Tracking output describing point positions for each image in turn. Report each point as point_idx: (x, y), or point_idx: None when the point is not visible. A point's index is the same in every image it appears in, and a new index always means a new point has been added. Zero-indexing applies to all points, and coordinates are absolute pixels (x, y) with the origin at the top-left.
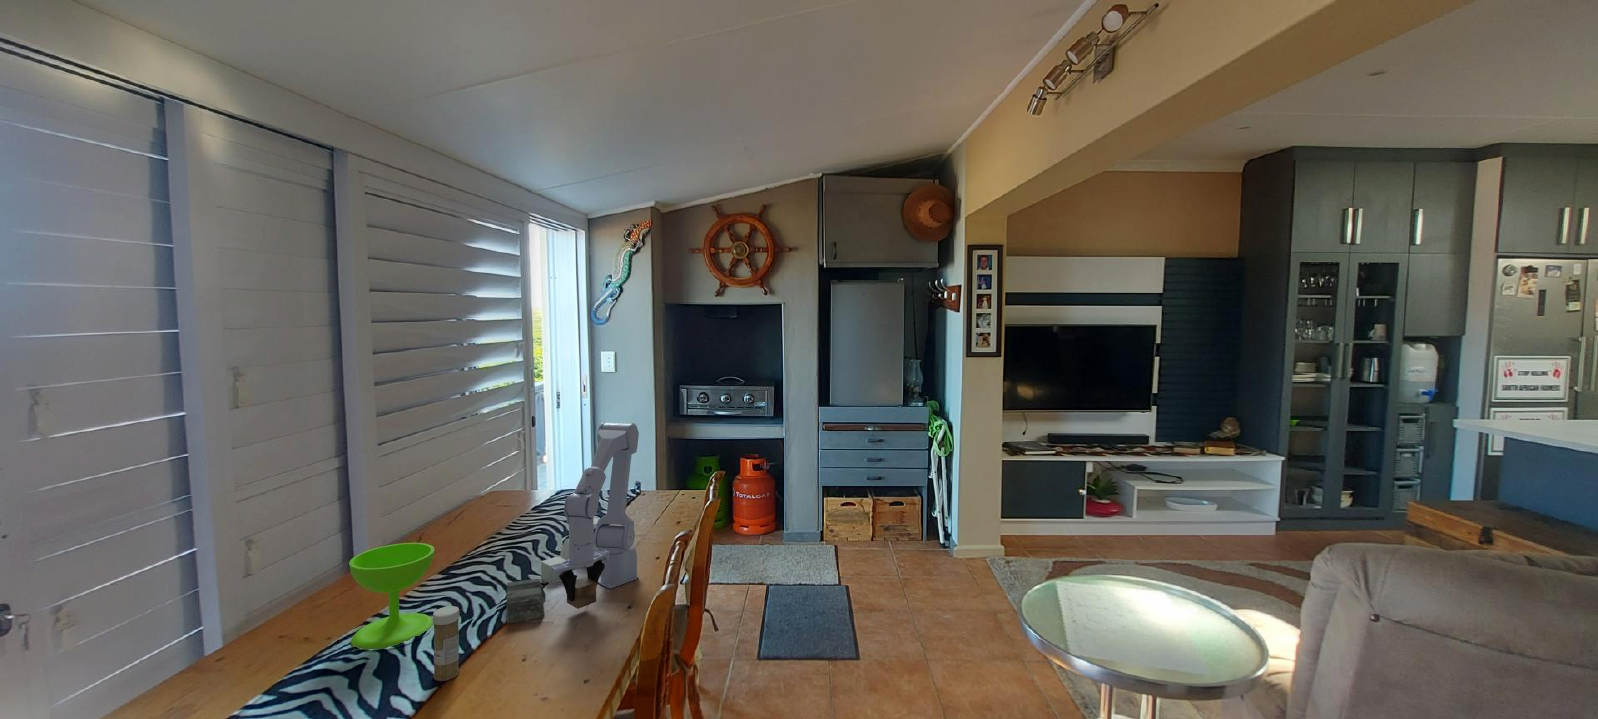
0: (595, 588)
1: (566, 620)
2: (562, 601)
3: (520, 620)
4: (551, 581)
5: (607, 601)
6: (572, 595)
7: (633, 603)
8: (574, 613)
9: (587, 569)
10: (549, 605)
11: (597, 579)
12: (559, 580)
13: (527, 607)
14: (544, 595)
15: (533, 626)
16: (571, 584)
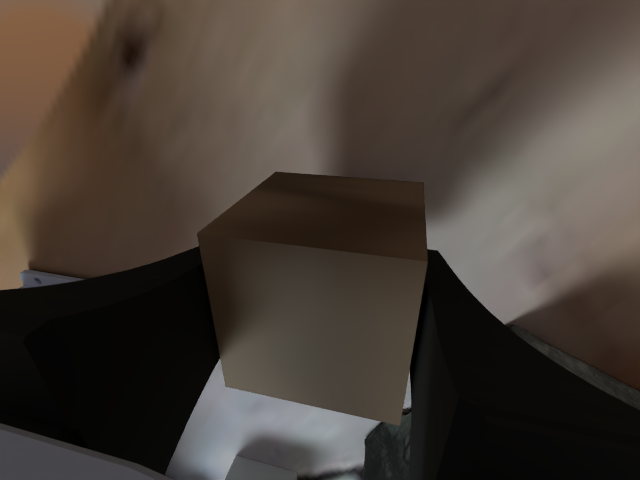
0: (237, 209)
1: (469, 204)
2: None
3: (617, 381)
4: (290, 477)
5: (200, 208)
6: (449, 267)
7: (101, 74)
8: None
9: (175, 430)
10: None
11: (168, 264)
12: (263, 463)
13: None
14: (379, 440)
15: (630, 293)
16: (506, 344)
